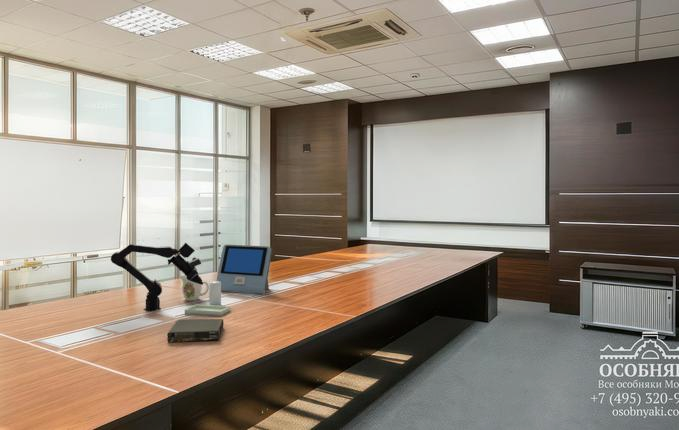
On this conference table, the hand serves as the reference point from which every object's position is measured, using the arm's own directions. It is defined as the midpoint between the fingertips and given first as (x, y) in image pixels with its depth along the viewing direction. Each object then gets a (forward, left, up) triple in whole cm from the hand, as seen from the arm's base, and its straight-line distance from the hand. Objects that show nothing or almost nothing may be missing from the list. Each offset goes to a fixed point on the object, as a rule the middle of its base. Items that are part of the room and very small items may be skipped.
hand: (202, 282), depth 257 cm
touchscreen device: (+46, +9, -13) cm, 49 cm away
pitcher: (+9, +17, -13) cm, 23 cm away
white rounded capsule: (+5, -5, -13) cm, 15 cm away
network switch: (-40, -38, -14) cm, 57 cm away
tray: (-9, -13, -13) cm, 21 cm away
